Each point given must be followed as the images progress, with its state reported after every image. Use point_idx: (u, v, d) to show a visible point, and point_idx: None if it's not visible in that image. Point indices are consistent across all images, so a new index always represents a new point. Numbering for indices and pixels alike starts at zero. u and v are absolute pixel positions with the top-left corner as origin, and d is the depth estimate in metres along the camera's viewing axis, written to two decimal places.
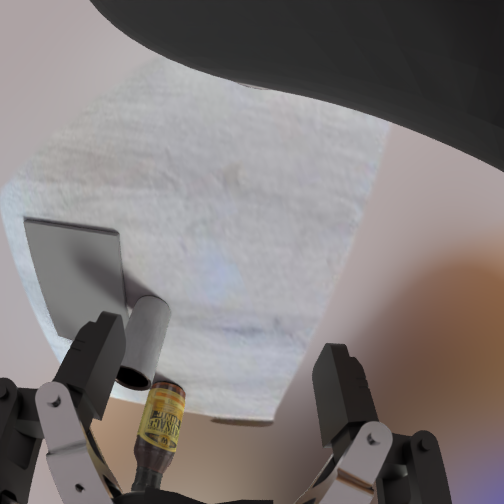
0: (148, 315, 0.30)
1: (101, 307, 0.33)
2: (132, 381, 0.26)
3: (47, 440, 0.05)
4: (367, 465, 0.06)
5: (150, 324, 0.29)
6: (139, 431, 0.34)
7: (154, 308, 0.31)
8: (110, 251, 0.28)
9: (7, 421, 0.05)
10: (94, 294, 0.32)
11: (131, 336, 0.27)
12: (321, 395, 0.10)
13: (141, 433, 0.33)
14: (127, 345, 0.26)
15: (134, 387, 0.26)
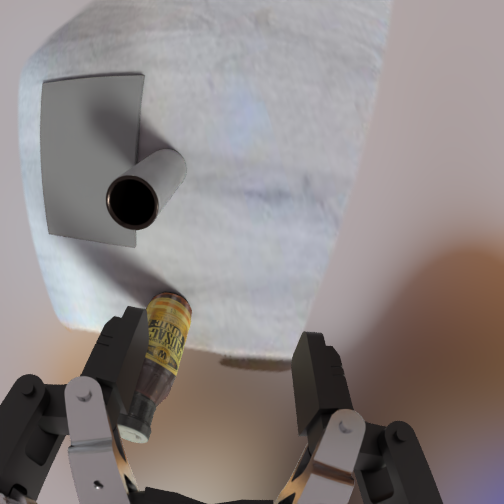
0: (163, 155, 0.25)
1: (106, 172, 0.29)
2: (132, 220, 0.22)
3: (71, 433, 0.05)
4: (343, 454, 0.06)
5: (165, 160, 0.25)
6: None
7: (170, 153, 0.27)
8: (131, 93, 0.24)
9: (30, 419, 0.05)
10: (101, 155, 0.27)
11: (141, 163, 0.22)
12: (298, 383, 0.10)
13: None
14: (135, 166, 0.21)
15: (134, 225, 0.21)
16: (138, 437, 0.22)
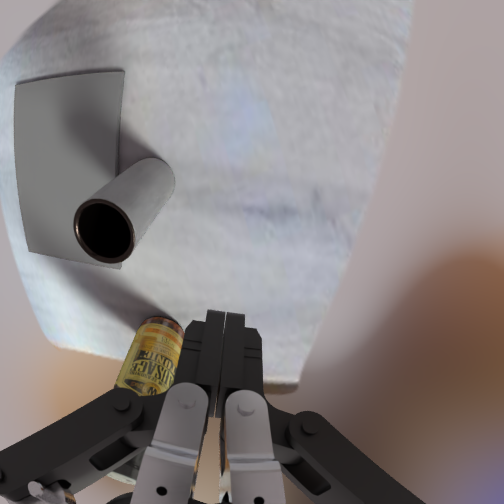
0: (145, 167, 0.21)
1: (84, 186, 0.24)
2: (106, 251, 0.18)
3: (156, 433, 0.06)
4: (255, 438, 0.07)
5: (146, 173, 0.20)
6: (117, 380, 0.25)
7: (154, 164, 0.22)
8: (109, 93, 0.20)
9: (111, 435, 0.06)
10: (78, 165, 0.23)
11: (116, 179, 0.18)
12: (220, 364, 0.11)
13: (119, 382, 0.24)
14: (108, 184, 0.17)
15: (108, 257, 0.17)
16: (129, 480, 0.17)
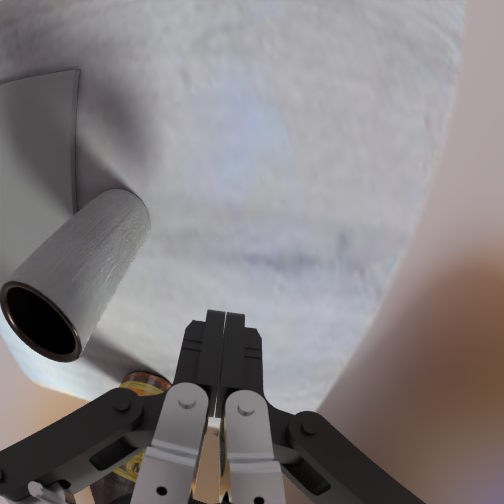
0: (103, 208, 0.14)
1: (39, 223, 0.17)
2: (52, 341, 0.11)
3: (156, 433, 0.06)
4: (255, 438, 0.07)
5: (103, 220, 0.13)
6: None
7: (118, 201, 0.15)
8: (60, 101, 0.13)
9: (111, 435, 0.06)
10: (30, 197, 0.16)
11: (57, 234, 0.11)
12: (220, 364, 0.11)
13: None
14: (42, 247, 0.10)
15: (53, 353, 0.10)
16: None
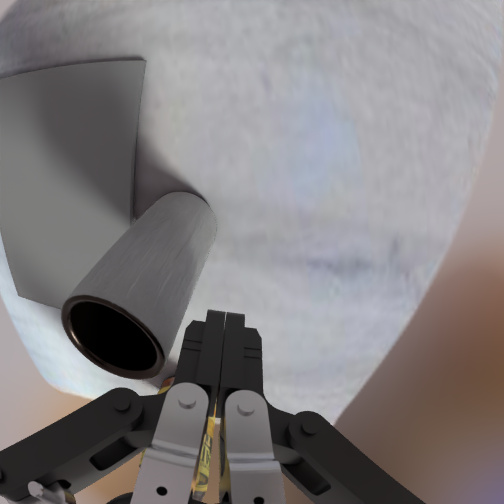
0: (175, 213, 0.14)
1: (85, 224, 0.18)
2: (118, 355, 0.11)
3: (157, 433, 0.06)
4: (254, 438, 0.07)
5: (178, 227, 0.14)
6: None
7: (188, 206, 0.16)
8: (122, 93, 0.13)
9: (111, 435, 0.06)
10: (76, 196, 0.17)
11: (130, 241, 0.12)
12: (220, 364, 0.11)
13: None
14: (116, 255, 0.10)
15: (121, 369, 0.11)
16: None
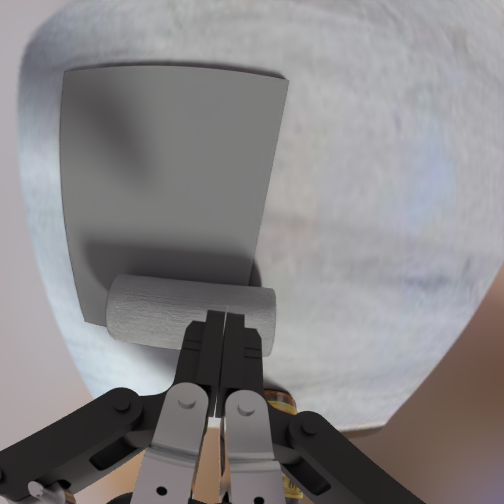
0: None
1: (199, 248, 0.18)
2: None
3: (156, 433, 0.06)
4: (255, 438, 0.07)
5: None
6: None
7: None
8: (264, 111, 0.14)
9: (111, 435, 0.06)
10: (191, 218, 0.17)
11: (163, 340, 0.16)
12: (220, 364, 0.11)
13: None
14: (144, 337, 0.16)
15: None
16: None
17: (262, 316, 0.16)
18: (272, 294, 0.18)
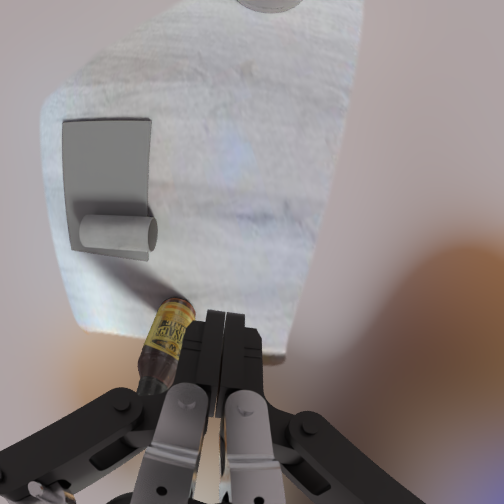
0: (126, 247, 0.35)
1: (122, 200, 0.36)
2: None
3: (156, 433, 0.06)
4: (255, 438, 0.07)
5: (120, 248, 0.35)
6: (145, 342, 0.37)
7: (136, 249, 0.35)
8: (141, 136, 0.32)
9: (111, 435, 0.06)
10: (118, 186, 0.35)
11: (102, 240, 0.34)
12: (220, 364, 0.11)
13: (148, 342, 0.36)
14: (94, 239, 0.34)
15: None
16: None
17: (143, 225, 0.34)
18: (150, 218, 0.35)
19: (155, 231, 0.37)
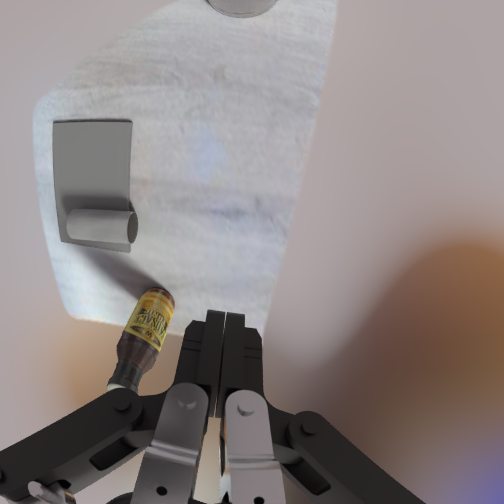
0: (108, 239, 0.37)
1: (106, 196, 0.38)
2: None
3: (156, 433, 0.06)
4: (255, 438, 0.07)
5: (103, 240, 0.37)
6: (125, 328, 0.39)
7: (117, 241, 0.37)
8: (123, 136, 0.34)
9: (111, 435, 0.06)
10: (102, 182, 0.37)
11: (86, 232, 0.36)
12: (220, 364, 0.11)
13: (126, 328, 0.38)
14: (80, 231, 0.36)
15: None
16: None
17: (123, 219, 0.36)
18: (130, 212, 0.37)
19: (135, 225, 0.39)
